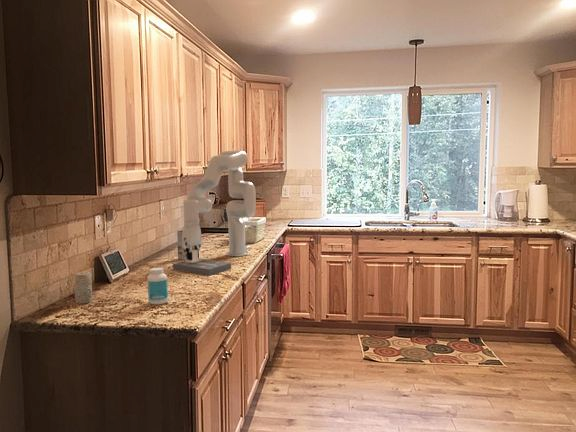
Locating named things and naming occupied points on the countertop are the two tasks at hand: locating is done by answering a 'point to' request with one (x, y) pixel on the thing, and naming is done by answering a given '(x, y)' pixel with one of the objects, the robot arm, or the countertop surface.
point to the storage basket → (254, 229)
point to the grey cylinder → (83, 287)
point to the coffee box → (181, 252)
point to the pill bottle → (157, 287)
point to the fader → (194, 257)
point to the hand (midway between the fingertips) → (193, 258)
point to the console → (202, 267)
